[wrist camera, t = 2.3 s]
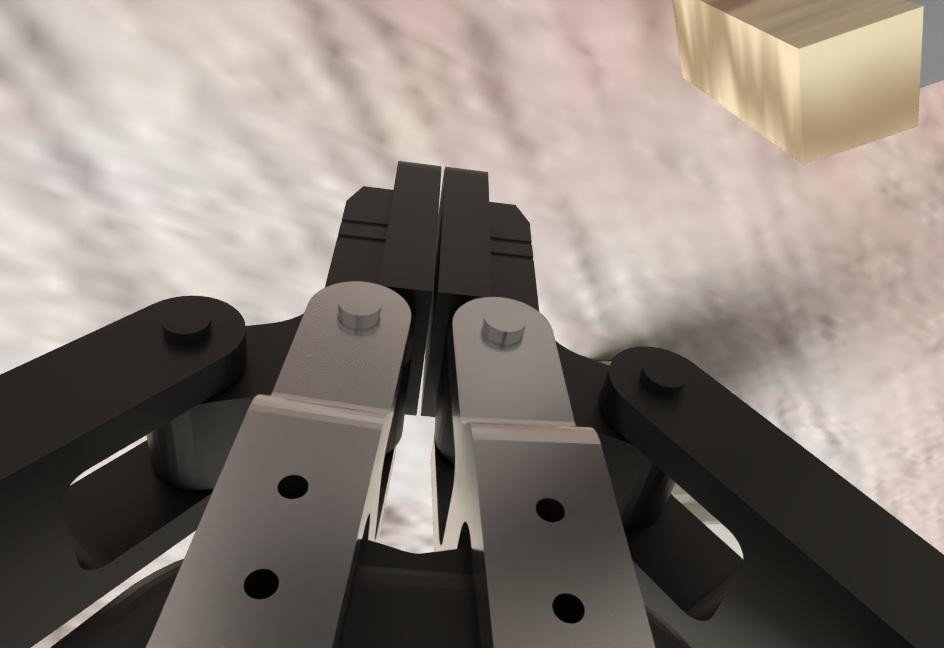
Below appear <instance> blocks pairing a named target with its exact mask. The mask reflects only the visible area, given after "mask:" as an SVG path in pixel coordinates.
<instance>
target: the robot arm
mask: <svg viewBox="0 0 944 648" xmlns="http://www.w3.org/2000/svg"><path fill="white" fill-rule="evenodd" d="M440 181H441V166H434V165H426V164H419V163H411V162H403V161H398V166H397V172H396V179H395V185H394V190H389V189H381V188H373V187H365V186H363V187H362V188H361V189H360V190H359V191H357V192H356V193H355V194H354V195H353V196H352V197H350V198H349V199H348V200H347V202H346V206H345V209H344V213H343V217H342V223H341V225H340V229H339V233H338V238H337V241H336V245H335V249H334V253H333V257H332V261H331V265H330V269H329V273H328V277H327V281H326V285H325V288H324V289H322V290H320V291H319V292H317V293H316V294H315V295H314V296H313V297H312V298H311V299H310V301H309V303H308V305H307V307H306V310H305V312H304V314H302V315H300V316H298V317H295V318H293V319H290V320H286V321H282V322H277V323H270V324H261V325H252V326H245V321H244V319H243V317H242V315H241V314H240V313H239V311H237V310H236V309H235V308H234V307H233V306H231V305H229V304H228V303H226V302H223V301H221V300H218V299H214V298H210V297H203V296H181V297H175V298H170V299H166V300H162V301H160V302H157V303H155V304H152V305H150V306H148V307H146V308H144V309H141V310H139V311H137V312H135V313H133V314H131V315H128V316H126V317H124V318H122V319H120V320H118V321H115V322H113V323H111V324H109V325H107V326H105V327H103V328H100V329H98V330H96V331H94V332H92V333H90V334H87V335H85V336H83V337H81V338H79V339H77V340H74V341H72V342H70V343H68V344H66V345H64V346H61V347H59V348H57V349H55V350H53V351H51V352H48V353H46V354H44V355H42V356H40V357H38V358H35V359H33V360H31V361H29V362H27V363H25V364H22V365H20V366H18V367H16V368H14V369H12V370H10V371H7V372H5V373H3V374H1V375H0V648H31V647H32V646H34V645H35V644H37V643H38V642H39V641H41V640H42V639H44V638H45V637H46V636H48V635H49V634H51V633H52V632H53V631H55V630H56V629H58V628H59V627H60V626H62V625H63V624H65V623H66V622H67V621H69V620H70V619H72V618H73V617H74V616H76V615H77V614H79V613H80V612H82V611H83V610H84V609H86V608H87V607H89V606H90V605H91V604H93V603H94V602H96V601H97V600H98V599H100V598H101V597H103V596H104V595H105V594H107V593H108V592H110V591H111V590H112V589H114V588H115V587H117V586H118V585H119V584H121V583H122V582H124V581H125V580H127V579H128V578H129V577H131V576H132V575H134V574H135V573H136V572H138V571H139V570H141V569H142V568H143V567H145V566H146V565H148V564H149V563H150V562H152V561H153V560H155V559H156V558H157V557H159V556H160V555H162V554H163V553H165V552H166V551H167V550H169V549H170V548H172V547H173V546H174V545H176V544H177V543H179V542H180V541H181V540H183V539H184V538H186V537H187V536H188V535H190V534H191V533H193V532H194V531H195V530H196V532H195V535H194V537H193V539H192V542H191V544H190V546H189V549H188V551H187V553H186V556H185V558H184V559H182V560H179V561H176V562H174V563H172V564H170V565H168V566H166V567H164V568H162V569H160V570H157V571H155V572H154V573H152V574H150V575H149V576H147V577H145V578H144V579H142V580H140V581H139V582H137V583H135V584H134V585H132V586H131V587H130V588H128V589H127V590H125V591H124V592H123V593H121V594H120V595H119V596H117V597H116V598H115V599H113V600H112V601H111V602H109V603H108V604H107V605H106V606H104V607H103V608H102V609H100V610H99V611H98V612H96V613H95V614H94V615H92V616H91V617H90V618H89V619H87V620H86V621H85V622H83V623H82V624H81V625H79V626H78V627H77V628H75V629H74V630H73V631H72V632H70V633H69V634H68V635H66V636H65V637H64V638H62V639H61V640H60V641H58V642H57V643H56V644H54V645H53V646H52V647H51V648H944V555H943V554H942V553H941V552H939V551H938V550H937V549H935V548H934V547H933V546H932V545H930V544H929V543H928V542H926V541H925V540H924V539H922V538H921V537H920V536H918V535H917V534H916V533H915V532H913V531H912V530H911V529H909V528H908V527H907V526H905V525H904V524H903V523H901V522H900V521H899V520H898V519H896V518H895V517H894V516H892V515H891V514H890V513H888V512H887V511H886V510H885V509H883V508H882V507H881V506H879V505H878V504H877V503H875V502H874V501H873V500H871V499H870V498H869V497H868V496H866V495H865V494H864V493H862V492H861V491H860V490H858V489H857V488H856V487H854V486H853V485H852V484H851V483H849V482H848V481H847V480H845V479H844V478H843V477H841V476H840V475H839V474H837V473H836V472H835V471H834V470H832V469H831V468H830V467H828V466H827V465H826V464H824V463H823V462H822V461H820V460H819V459H818V458H817V457H815V456H814V455H813V454H811V453H810V452H809V451H807V450H806V449H805V448H803V447H802V446H801V445H800V444H798V443H797V442H796V441H794V440H793V439H792V438H790V437H789V436H788V435H786V434H785V433H784V432H783V431H781V430H780V429H779V428H777V427H776V426H775V425H773V424H772V423H771V422H769V421H768V420H767V419H766V418H764V417H763V416H762V415H760V414H759V413H758V412H756V411H755V410H754V409H753V408H751V407H750V406H749V405H747V404H746V403H745V402H743V401H742V400H741V399H739V398H738V397H737V396H736V395H734V394H733V393H732V392H730V391H729V390H728V389H726V388H725V387H724V386H722V385H721V384H720V383H719V382H717V381H716V380H715V379H713V378H712V377H711V376H709V375H708V374H707V373H705V372H704V371H703V370H702V369H700V368H699V367H698V366H696V365H695V364H694V363H692V362H691V361H689V360H688V359H686V358H684V357H682V356H680V355H678V354H676V353H673V352H671V351H668V350H664V349H660V348H655V347H635V348H629V349H627V350H624V351H622V352H620V353H619V354H617V355H616V356H615V357H614V358H613V360H612V362H611V363H610V365H607V364H604V363H601V362H598V361H595V360H592V359H589V358H586V357H584V356H581V355H579V354H576V353H574V352H572V351H570V350H568V349H566V348H565V347H563V346H562V345H560V344H559V343H558V342H556V341H555V338H554V334H553V330H552V327H551V325H550V323H549V322H548V320H547V319H546V318H545V317H544V316H543V315H542V314H541V313H540V312H539V305H538V296H537V287H536V278H535V269H534V261H533V250H532V245H531V242H532V241H531V232H530V223H529V222H528V220H527V219H526V218H525V217H524V215H523V214H522V213H521V211H520V210H519V209H518V208H517V206H516V205H511V204H503V203H495V202H489V183H488V172H483V171H475V170H467V169H459V168H451V167H445V170H444V176H443V183H442V191H441V199H440V206H439V196H440ZM438 211H439V214H438ZM425 348H426V350H425ZM424 355H425V364H424V378H423V392H422V406H421V416H430V417H435V434H434V440H433V446H432V453H431V483H432V507H433V531H434V552H431V553H423V554H415V553H409V552H405V551H402V550H399V549H396V548H392V547H389V546H386V545H383V544H380V543H378V538H379V533H380V528H381V523H382V518H383V513H384V508H385V503H386V498H387V493H388V489H389V484H390V479H391V474H392V469H393V464H394V459H395V451H396V445H397V444H398V443H399V441H400V438H401V436H402V431H403V423H404V415H405V414H407V415H416V414H417V407H418V399H419V392H420V385H421V377H422V370H423V362H424ZM145 435H147V440H146V441H145V442H143V443H141V444H140V445H138V446H136V447H135V448H133V449H131V450H129V451H128V452H126V453H124V454H123V455H121V456H119V457H118V458H116V459H114V460H113V461H111V462H109V463H107V464H106V465H104V466H102V467H101V468H99V469H97V470H96V471H94V472H92V473H90V474H89V475H87V476H85V477H84V478H82V479H80V480H79V481H77V482H75V483H74V484H72V485H70V484H71V483H72V482H73V481H74V480H75V479H76V478H77V477H78V476H79V475H80V474H82V473H83V472H84V471H86V470H87V469H89V468H91V467H93V466H94V465H96V464H98V463H99V462H101V461H103V460H104V459H106V458H108V457H110V456H111V455H113V454H115V453H116V452H118V451H120V450H122V449H123V448H125V447H127V446H128V445H130V444H132V443H134V442H135V441H137V440H139V439H140V438H142V437H144V436H145ZM675 483H676V484H678V485H679V486H680V487H681V488H682V489H683V490H684V491H685V492H687V493H688V494H689V495H690V496H691V497H692V498H693V499H694V500H695V501H697V502H698V503H699V504H700V505H701V506H702V507H703V508H704V509H706V510H707V511H708V512H709V513H710V514H711V515H712V516H713V517H715V518H716V519H717V520H718V521H719V522H720V523H721V524H722V525H724V526H725V527H726V528H727V529H728V530H729V531H730V532H731V533H732V534H733V536H734V537H735V538H736V540H737V541H738V543H739V545H740V547H741V550H742V553H743V559H742V558H741V557H740V556H739V555H738V554H737V553H736V552H735V551H734V550H732V549H731V548H730V547H729V546H728V545H727V544H726V543H725V542H724V541H723V540H721V539H720V538H719V537H718V536H717V535H716V534H715V533H714V532H713V531H712V530H710V529H709V528H708V527H707V526H706V525H705V524H704V523H703V522H702V521H700V520H699V519H698V518H697V517H696V516H695V515H694V514H693V513H692V512H691V511H689V510H688V509H687V508H686V507H685V506H684V505H683V504H682V503H681V502H680V501H678V500H677V499H676V498H675V497H674V496H673V495H672V494H671V492H672V490H673V488H674V486H675Z"/></svg>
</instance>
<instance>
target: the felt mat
mask: <svg viewBox="0 0 944 648" xmlns="http://www.w3.org/2000/svg"><path fill="white" fill-rule="evenodd" d="M906 1H909V2H912V3H916V4H919V5H922V6H924V10H923V31H922V52H921V74H920V88H921V87H924V86H927V85H930V84H933V83H936V82H939V81H942V80H944V0H906Z"/></svg>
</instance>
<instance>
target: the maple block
mask: <svg viewBox="0 0 944 648" xmlns="http://www.w3.org/2000/svg"><path fill="white" fill-rule="evenodd" d="M673 7H674V15H675V22H676V30H677V37H678V45H679V53H680V60H681V68H682V75H683V77H684V78H685V79H686V80H688V81H689V82H690V83H692V84H693V85H695V86H696V87H697V88H699V89H700V90H701V91H703V92H704V93H706V94H707V95H708V96H710V97H711V98H712V99H714V100H715V101H717V102H718V103H719V104H721V105H722V106H723V107H725V108H726V109H728V110H729V111H730V112H732V113H733V114H734V115H736V116H737V117H739V118H740V119H741V120H743V121H744V122H745V123H747V124H748V125H750V126H751V127H752V128H754V129H755V130H756V131H758V132H759V133H761V134H762V135H763V136H765V137H766V138H767V139H769V140H770V141H772V142H773V143H774V144H776V145H777V146H778V147H780V148H781V149H783V150H784V151H785V152H787V153H788V154H789V155H791V156H792V157H794V158H795V159H796V160H798V161H799V162H800V163H802V164H803V165H805V164H808V163H811V162H814V161H817V160H820V159H823V158H826V157H829V156H832V155H835V154H837V153H840V152H843V151H846V150H849V149H852V148H855V147H858V146H861V145H864V144H867V143H870V142H873V141H876V140H879V139H882V138H885V137H888V136H891V135H894V134H897V133H899V132H902V131H905V130H908V129H911V128H914V127H917V126H918V116H919V95H920V74H921V52H922V31H923V10H924V6H922V5H919V4H916V3H912V2H909V1H906V0H673Z"/></svg>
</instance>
